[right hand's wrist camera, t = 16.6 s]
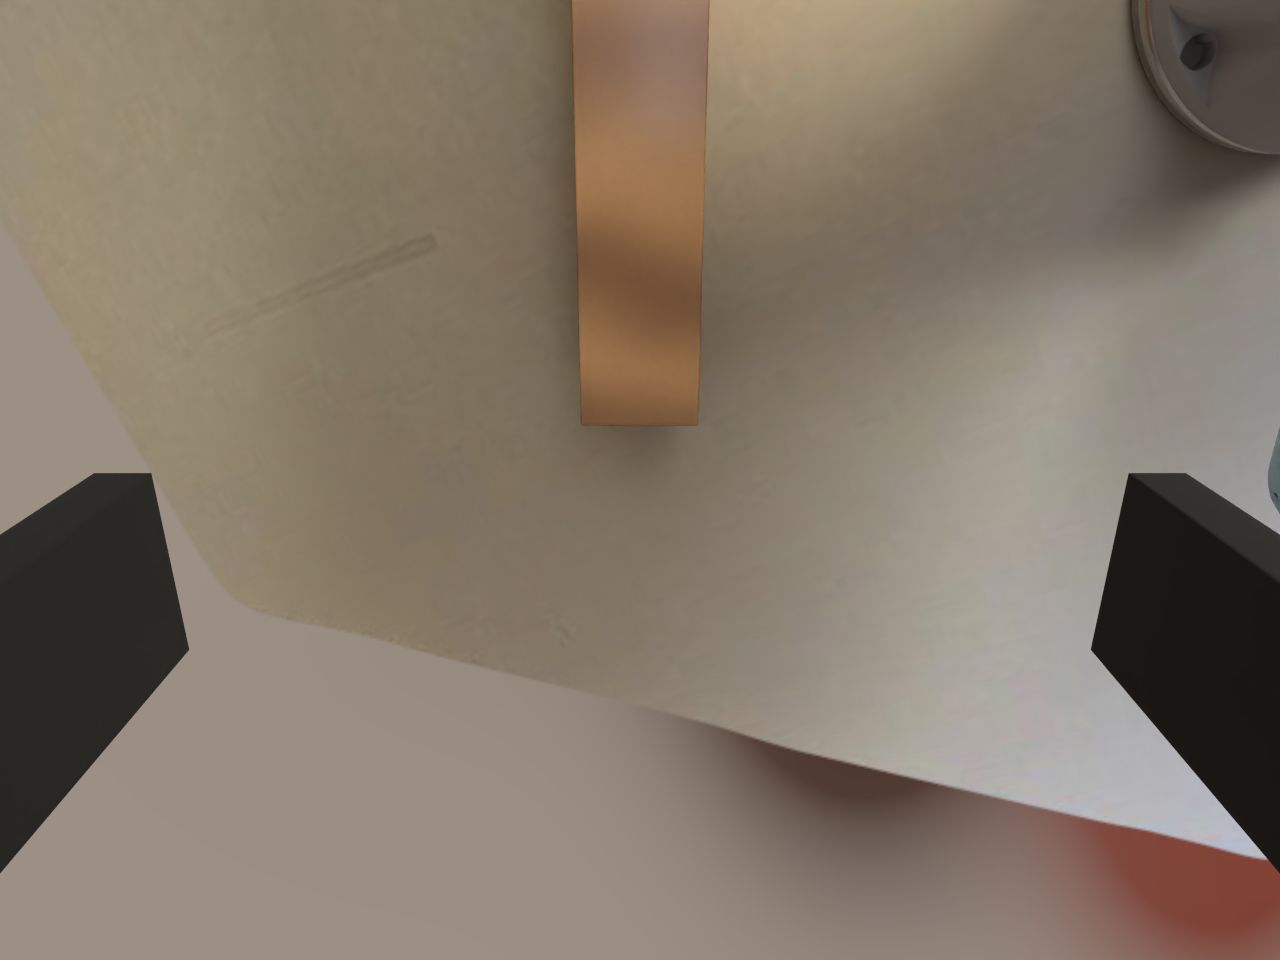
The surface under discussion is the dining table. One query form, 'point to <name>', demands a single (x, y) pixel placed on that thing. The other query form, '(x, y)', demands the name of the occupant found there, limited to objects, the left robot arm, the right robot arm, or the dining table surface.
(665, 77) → the board
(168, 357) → the dining table surface
